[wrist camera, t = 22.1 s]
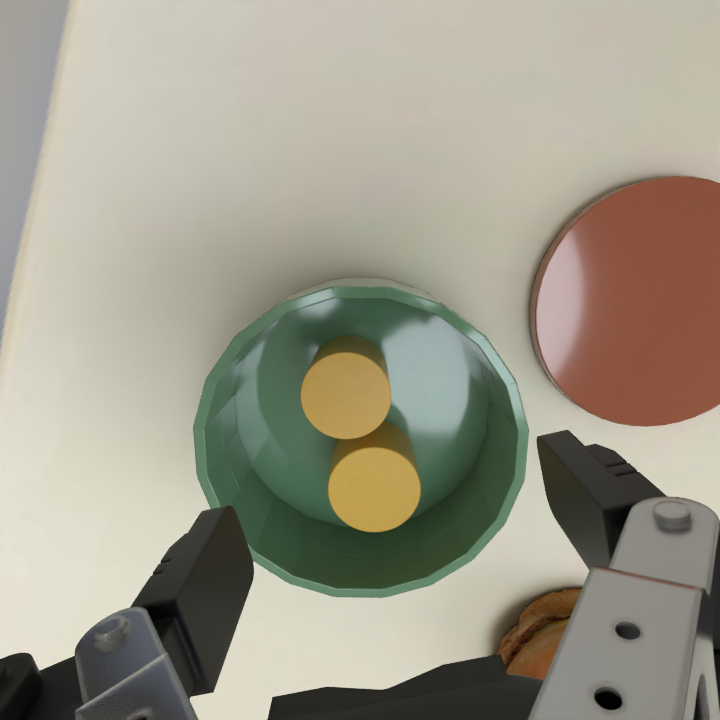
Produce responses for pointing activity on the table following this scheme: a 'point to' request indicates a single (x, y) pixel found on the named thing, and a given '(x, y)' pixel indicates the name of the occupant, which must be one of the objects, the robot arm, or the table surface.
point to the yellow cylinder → (346, 388)
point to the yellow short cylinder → (374, 479)
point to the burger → (538, 634)
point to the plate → (635, 303)
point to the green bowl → (315, 449)
